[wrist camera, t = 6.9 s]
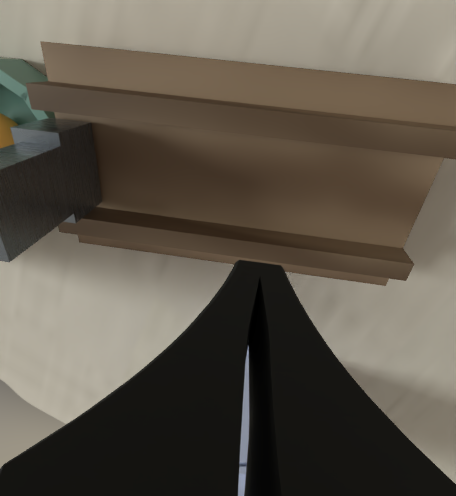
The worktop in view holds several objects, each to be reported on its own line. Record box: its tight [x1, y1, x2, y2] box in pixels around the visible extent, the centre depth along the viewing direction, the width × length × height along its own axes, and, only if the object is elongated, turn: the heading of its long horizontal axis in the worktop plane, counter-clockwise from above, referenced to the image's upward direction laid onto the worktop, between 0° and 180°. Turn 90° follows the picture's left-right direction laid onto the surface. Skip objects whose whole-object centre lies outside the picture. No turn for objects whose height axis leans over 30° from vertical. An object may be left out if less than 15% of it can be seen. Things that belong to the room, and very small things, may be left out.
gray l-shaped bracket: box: [0, 118, 102, 262], centre depth 13 cm, size 4×2×7 cm, turn 175°
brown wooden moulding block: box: [26, 42, 456, 286], centre depth 16 cm, size 10×18×4 cm, turn 85°
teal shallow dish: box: [0, 57, 55, 125], centre depth 17 cm, size 8×8×2 cm
